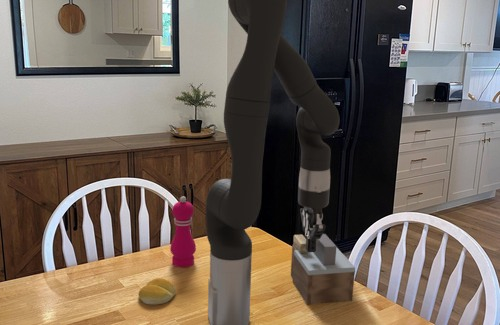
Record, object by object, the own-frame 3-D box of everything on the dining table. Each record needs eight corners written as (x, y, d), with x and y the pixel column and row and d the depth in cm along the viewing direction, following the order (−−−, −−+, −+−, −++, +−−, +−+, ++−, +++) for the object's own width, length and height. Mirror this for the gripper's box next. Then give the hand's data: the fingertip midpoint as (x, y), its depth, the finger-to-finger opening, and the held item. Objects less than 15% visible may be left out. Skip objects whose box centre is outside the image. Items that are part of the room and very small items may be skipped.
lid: (308, 278, 120) (310, 251, 118) (293, 257, 131) (295, 232, 129) (354, 275, 122) (356, 248, 120) (336, 255, 134) (338, 230, 132)
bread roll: (132, 302, 121) (132, 287, 120) (153, 286, 129) (152, 272, 128) (162, 309, 118) (161, 294, 117) (180, 292, 126) (180, 278, 125)
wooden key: (300, 252, 128) (300, 243, 128) (293, 243, 134) (293, 235, 133) (308, 252, 129) (309, 243, 128) (301, 243, 134) (302, 234, 134)
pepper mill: (191, 269, 138) (191, 201, 133) (166, 266, 139) (166, 199, 134) (198, 258, 145) (199, 193, 140) (175, 255, 146) (175, 191, 141)
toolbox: (306, 304, 121) (308, 270, 119) (288, 275, 136) (290, 244, 134) (352, 300, 124) (355, 267, 122) (329, 272, 139) (332, 242, 136)
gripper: (291, 178, 125) (288, 241, 130) (308, 194, 113) (304, 263, 117) (319, 177, 127) (315, 239, 131) (338, 193, 114) (334, 261, 119)
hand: (310, 250), depth 124 cm, fingers closed
